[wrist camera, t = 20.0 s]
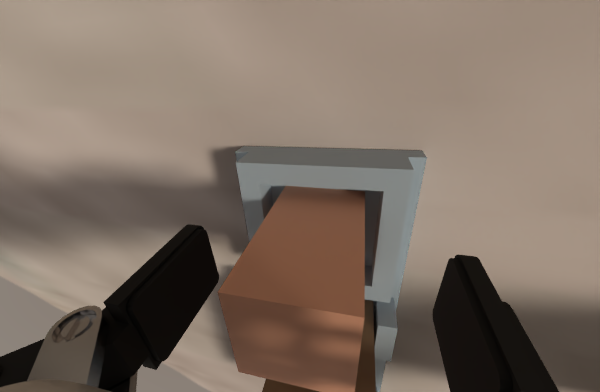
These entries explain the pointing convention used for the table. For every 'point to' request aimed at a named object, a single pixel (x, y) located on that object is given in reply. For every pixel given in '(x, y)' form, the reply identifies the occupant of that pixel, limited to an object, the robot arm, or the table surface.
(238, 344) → the brown rectangular brick
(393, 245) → the jig
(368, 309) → the brown tabbed block
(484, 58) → the table surface
